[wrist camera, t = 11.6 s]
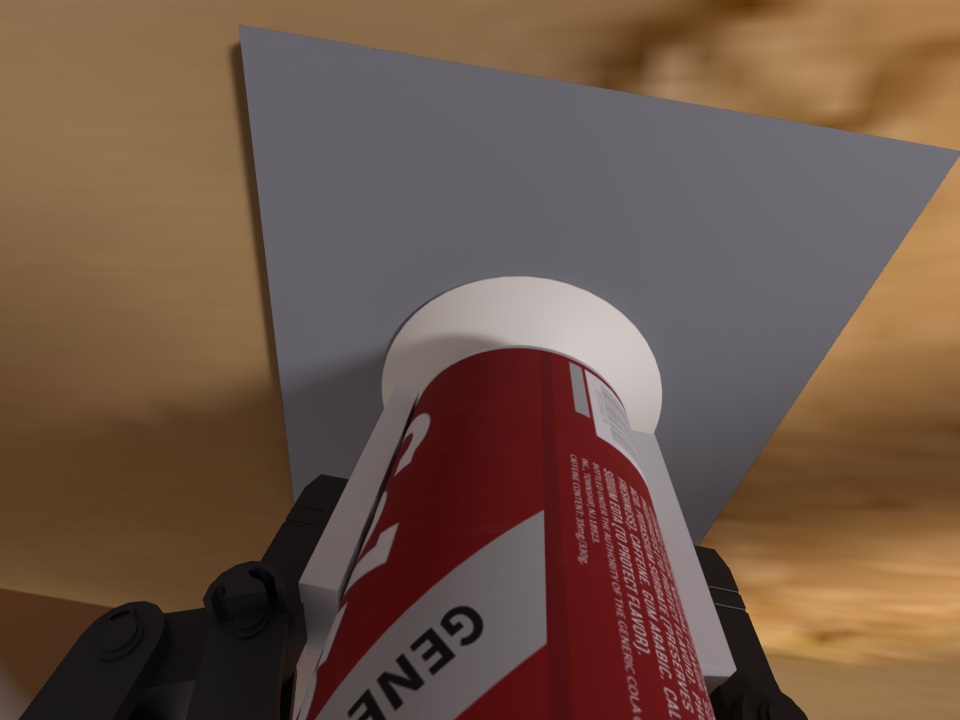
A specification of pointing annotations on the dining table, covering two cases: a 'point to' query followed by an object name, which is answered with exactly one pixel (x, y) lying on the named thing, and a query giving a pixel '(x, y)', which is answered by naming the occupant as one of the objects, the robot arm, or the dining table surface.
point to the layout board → (557, 245)
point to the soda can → (512, 563)
